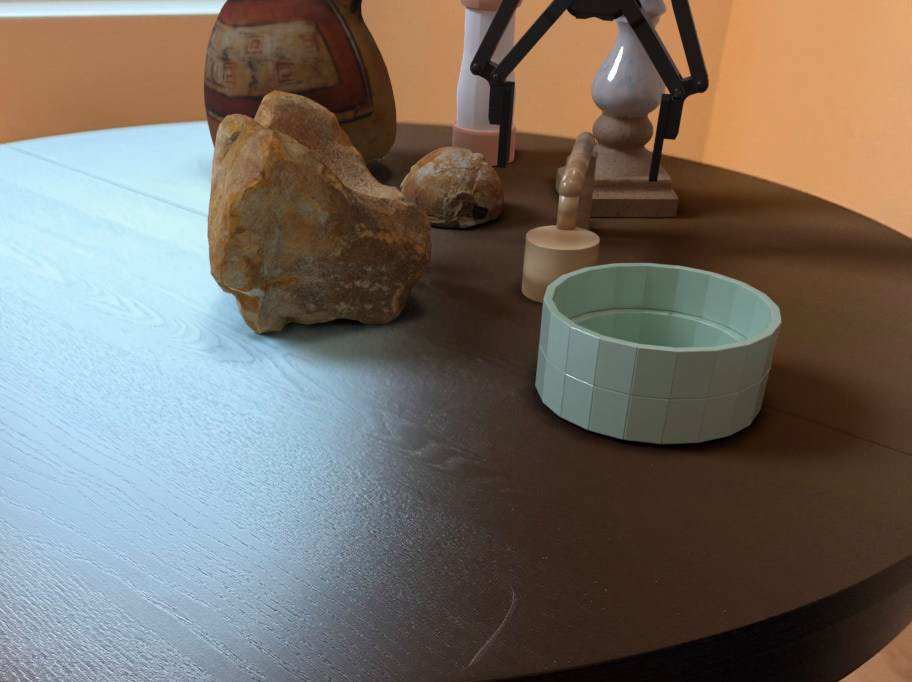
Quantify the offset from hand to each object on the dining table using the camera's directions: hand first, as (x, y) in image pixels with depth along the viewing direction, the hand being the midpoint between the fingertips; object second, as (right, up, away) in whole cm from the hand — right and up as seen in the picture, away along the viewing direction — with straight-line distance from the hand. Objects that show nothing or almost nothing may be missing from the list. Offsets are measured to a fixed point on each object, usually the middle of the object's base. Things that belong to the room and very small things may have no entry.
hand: (577, 171), depth 93 cm
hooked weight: (-1, -9, -1) cm, 9 cm away
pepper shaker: (-7, +14, +27) cm, 31 cm away
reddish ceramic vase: (-27, +9, +21) cm, 35 cm away
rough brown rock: (-22, -16, -9) cm, 28 cm away
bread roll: (-11, 0, +11) cm, 16 cm away
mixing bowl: (+2, -26, -22) cm, 34 cm away
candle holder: (+6, +4, +15) cm, 17 cm away
